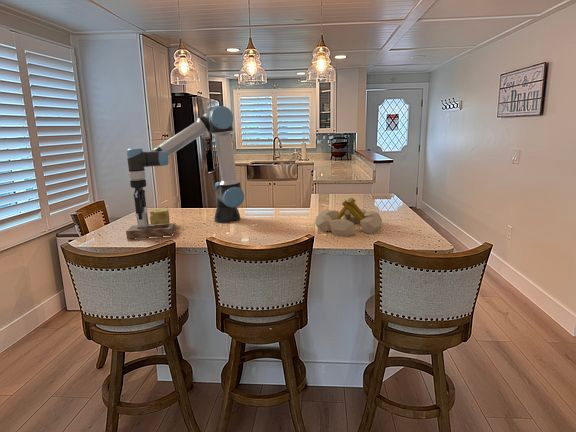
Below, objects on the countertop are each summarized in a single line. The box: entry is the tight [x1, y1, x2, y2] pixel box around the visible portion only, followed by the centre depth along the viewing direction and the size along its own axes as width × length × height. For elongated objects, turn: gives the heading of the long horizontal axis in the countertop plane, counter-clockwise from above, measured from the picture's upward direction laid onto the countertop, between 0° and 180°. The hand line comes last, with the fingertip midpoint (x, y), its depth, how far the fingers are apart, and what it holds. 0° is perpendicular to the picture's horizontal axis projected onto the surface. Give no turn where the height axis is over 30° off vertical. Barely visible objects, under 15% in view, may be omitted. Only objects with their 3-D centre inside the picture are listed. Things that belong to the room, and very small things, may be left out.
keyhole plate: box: [125, 222, 176, 240], centre depth 210 cm, size 22×12×4 cm, turn 96°
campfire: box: [314, 197, 383, 237], centre depth 211 cm, size 35×34×17 cm
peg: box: [135, 205, 149, 229], centre depth 209 cm, size 6×6×14 cm
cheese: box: [149, 207, 170, 224], centre depth 227 cm, size 10×11×10 cm
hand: (142, 224), depth 209 cm, fingers closed on peg, 4 cm apart
